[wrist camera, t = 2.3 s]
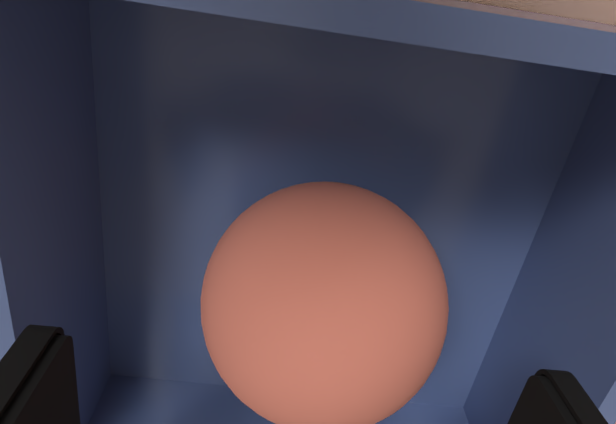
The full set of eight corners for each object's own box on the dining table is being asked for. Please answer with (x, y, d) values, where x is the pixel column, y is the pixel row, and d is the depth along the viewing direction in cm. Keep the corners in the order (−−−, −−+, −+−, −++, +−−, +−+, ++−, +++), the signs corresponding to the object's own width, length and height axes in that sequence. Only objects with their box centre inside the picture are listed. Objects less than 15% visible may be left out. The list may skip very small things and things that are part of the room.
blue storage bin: (629, 27, 12) (841, 68, 8) (468, 406, 19) (527, 560, 14) (69, -63, 11) (-106, -83, 6) (101, 372, 18) (25, 526, 13)
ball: (441, 161, 13) (532, 291, 8) (393, 326, 16) (438, 503, 11) (227, 133, 13) (176, 250, 8) (215, 307, 16) (171, 483, 10)
